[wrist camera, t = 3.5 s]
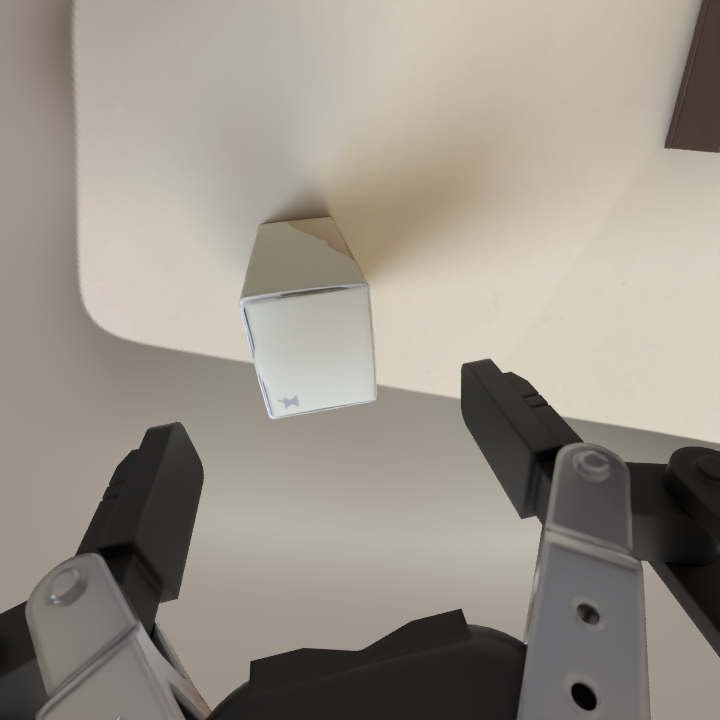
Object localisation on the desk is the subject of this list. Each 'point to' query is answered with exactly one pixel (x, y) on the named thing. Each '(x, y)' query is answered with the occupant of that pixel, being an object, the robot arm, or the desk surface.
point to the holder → (700, 88)
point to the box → (308, 319)
